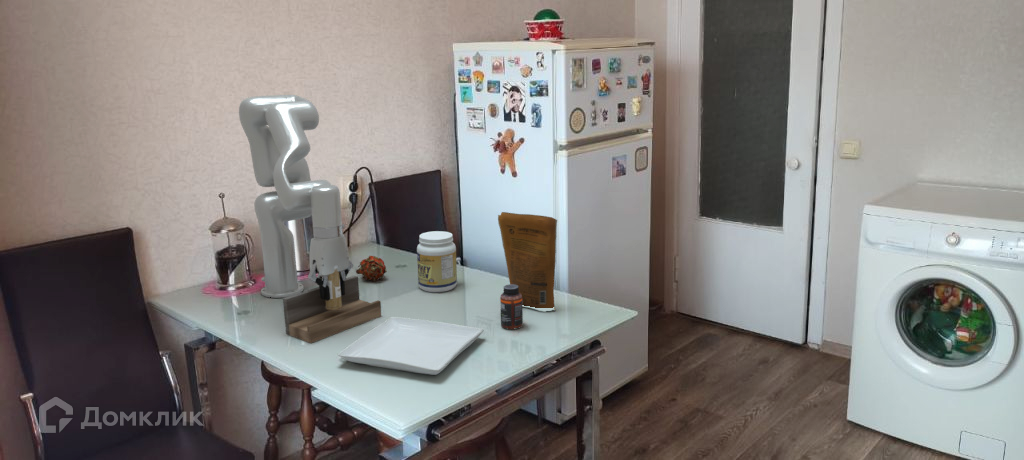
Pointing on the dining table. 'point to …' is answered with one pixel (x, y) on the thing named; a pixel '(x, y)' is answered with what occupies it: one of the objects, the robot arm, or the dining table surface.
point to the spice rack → (326, 313)
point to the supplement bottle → (511, 307)
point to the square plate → (411, 345)
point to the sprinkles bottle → (334, 291)
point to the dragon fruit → (372, 268)
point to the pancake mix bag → (530, 256)
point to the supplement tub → (436, 261)
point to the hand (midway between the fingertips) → (332, 296)
